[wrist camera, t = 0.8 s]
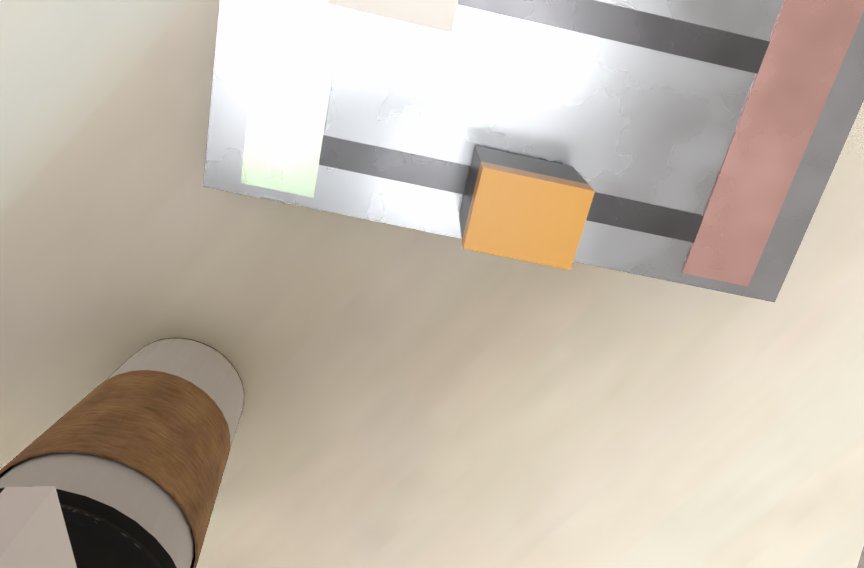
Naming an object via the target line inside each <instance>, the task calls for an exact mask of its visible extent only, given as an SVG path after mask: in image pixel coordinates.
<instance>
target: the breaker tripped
mask: <svg viewBox="0 0 864 568" xmlns="http://www.w3.org/2000/svg"><path fill="white" fill-rule="evenodd" d="M594 193H595V191H594V189H593V188H592V187H591V186H590V185H589V184H588V183H587V182H586V181H585V180H584V178H583V177H582V176H581V175H580V174H579V173H578V172H577V171H576V170H575V169H574V167H573V166H568V165H564V164H559V163H554V162H550V161H545V160H540V159H536V158H531V157H527V156H522V155H517V154H513V153H508V152H503V151H499V150H494V149H489V148H485V147H480V146H475V150H474V155H473V159H472V163H471V167H470V171H469V176H468V180H467V184H466V188H465V193H464V197H463V201H462V205H461V209H460V214H459V222H460V229H461V236H462V244H463V249H467V250H472V251H477V252H482V253H487V254H492V255H497V256H502V257H507V258H512V259H517V260H522V261H527V262H532V263H537V264H542V265H547V266H552V267H557V268H562V269H567V270H571V267H572V264H573V261H574V257H575V254H576V251H577V248H578V245H579V241H580V238H581V235H582V232H583V229H584V225H585V222H586V219H587V216H588V212H589V209H590V206H591V203H592V200H593V196H594Z"/></svg>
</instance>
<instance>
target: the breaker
mask: <svg viewBox="0 0 864 568" xmlns="http://www.w3.org/2000/svg"><path fill="white" fill-rule="evenodd" d="M327 4H329V5H333V6H338V7H342V8H346V9H351V10H355V11H360V12H364V13H368V14H373V15H377V16H381V17H386V18H390V19H395V20H399V21H403V22H408V23H412V24H417V25H421V26H425V27H430V28H434V29H438V30H443V31H447V32H452V28H453V23H454V19H455V14H456V9H457V4H458V0H327Z"/></svg>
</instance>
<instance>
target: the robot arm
mask: <svg viewBox="0 0 864 568" xmlns="http://www.w3.org/2000/svg"><path fill="white" fill-rule="evenodd" d="M0 568H77V566H76V562H75V559H74V555H73V551H72V547H71V544H70V540H69V536H68V532H67V529H66V525H65V521H64V518H63V514H62V510H61V506H60V503H59V499H58V495H57V491H56V488H55V486H27V487H5V488H4V490H3V491H2V492H1V493H0ZM857 568H864V547H863V550H862V554H861V557H860V560H859V564H858V567H857Z"/></svg>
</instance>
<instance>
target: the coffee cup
mask: <svg viewBox="0 0 864 568" xmlns="http://www.w3.org/2000/svg"><path fill="white" fill-rule="evenodd" d="M243 405H244V391H243V386H242V382H241V380H240V378H239V375H238V373H237V372H236V370H235V369H234V367H233V366H232V364H231V363H230V362H229V361H228V360H227V359H226V358H225V357H224V356H223V355H221V354H220V353H219V352H217V351H216V350H214V349H213V348H211V347H209V346H207V345H205V344H202V343H199V342H196V341H192V340H187V339H179V338H176V339H164V340H160V341H156V342H153V343H151V344H149V345H147V346H145V347H143V348H142V349H140V350H139V351H138V352H137V353H135V354H134V355H133V356H132V357H130V358H129V359H128V360H127V361H126V362H125V363H124V364H123V365H122V366H121V367H120V368H119V369H117V370H116V371H115V372H114V373H113V374H112V375H111V376H110V377H109V378H108V379H107V380H106V381H104V382H103V383H102V384H101V385H99V386H98V387H97V388H95V389H94V390H93V391H92V392H91V393H90V394H88V395H87V396H86V397H85V398H84V399H83V400H81V401H80V402H79V403H78V404H77V405H76V406H74V407H73V408H72V409H71V410H70V411H69V412H67V413H66V414H65V415H64V416H63V417H62V418H61V419H59V420H58V421H57V422H56V423H55V424H54V425H52V426H51V427H50V428H49V429H48V430H47V431H45V432H44V433H43V434H42V435H41V436H40V437H38V438H37V439H36V440H35V441H34V442H33V443H31V444H30V445H29V446H28V447H27V448H26V449H24V450H23V451H22V452H21V453H20V454H19V455H18V456H16V457H15V458H14V459H13V460H12V461H11V462H9V463H8V464H7V465H6V466H5V467H4V468H2V469H1V470H0V493H1V492H2V491H3V490H4V488H5V487H27V486H55V488H56V491H57V495H58V499H59V503H60V506H61V510H62V514H63V518H64V521H65V525H66V529H67V532H68V536H69V540H70V544H71V547H72V551H73V555H74V559H75V562H76V566H77V568H196V566H197V562H198V559H199V555H200V552H201V548H202V545H203V542H204V538H205V535H206V531H207V528H208V524H209V521H210V517H211V514H212V510H213V507H214V503H215V500H216V497H217V493H218V490H219V486H220V483H221V479H222V476H223V472H224V469H225V465H226V462H227V458H228V455H229V451H230V446H231V443H232V440H233V437H234V434H235V431H236V428H237V425H238V422H239V419H240V416H241V412H242V409H243Z"/></svg>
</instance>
